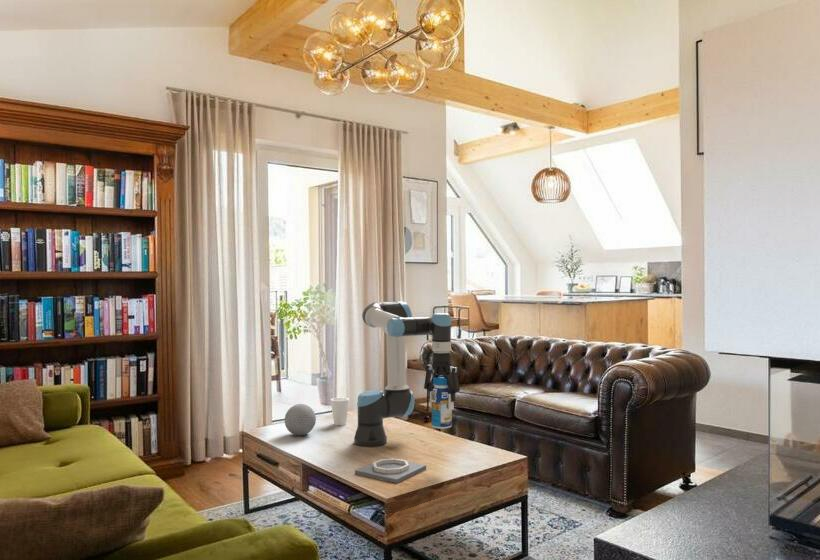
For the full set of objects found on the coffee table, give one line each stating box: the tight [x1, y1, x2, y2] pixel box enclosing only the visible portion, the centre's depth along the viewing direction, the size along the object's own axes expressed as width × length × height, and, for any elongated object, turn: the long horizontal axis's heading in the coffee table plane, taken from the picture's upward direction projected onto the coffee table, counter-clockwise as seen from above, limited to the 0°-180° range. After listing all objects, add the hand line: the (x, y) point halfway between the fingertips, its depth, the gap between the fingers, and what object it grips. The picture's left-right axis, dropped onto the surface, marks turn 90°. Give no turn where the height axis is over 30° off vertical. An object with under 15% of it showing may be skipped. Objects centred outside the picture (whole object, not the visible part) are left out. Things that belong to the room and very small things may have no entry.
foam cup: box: [330, 396, 350, 426], centre depth 316 cm, size 10×9×13 cm
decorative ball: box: [284, 403, 317, 436], centre depth 295 cm, size 15×15×15 cm
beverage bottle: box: [431, 375, 453, 430], centre depth 243 cm, size 8×8×20 cm
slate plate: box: [354, 456, 427, 484], centre depth 238 cm, size 20×20×3 cm
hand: (441, 408), depth 243 cm, fingers closed on beverage bottle, 8 cm apart
